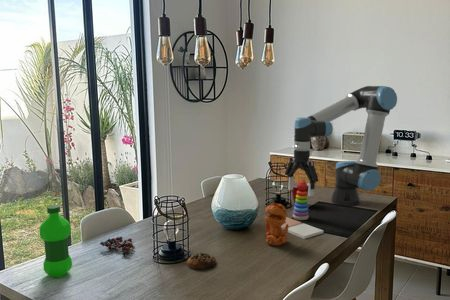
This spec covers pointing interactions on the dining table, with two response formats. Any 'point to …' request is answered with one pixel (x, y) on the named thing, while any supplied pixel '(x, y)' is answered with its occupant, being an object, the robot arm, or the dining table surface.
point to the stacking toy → (301, 202)
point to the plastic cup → (295, 189)
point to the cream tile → (304, 231)
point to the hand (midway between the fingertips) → (300, 192)
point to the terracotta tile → (290, 223)
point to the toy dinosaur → (276, 224)
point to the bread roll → (201, 261)
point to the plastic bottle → (56, 243)
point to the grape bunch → (119, 244)
